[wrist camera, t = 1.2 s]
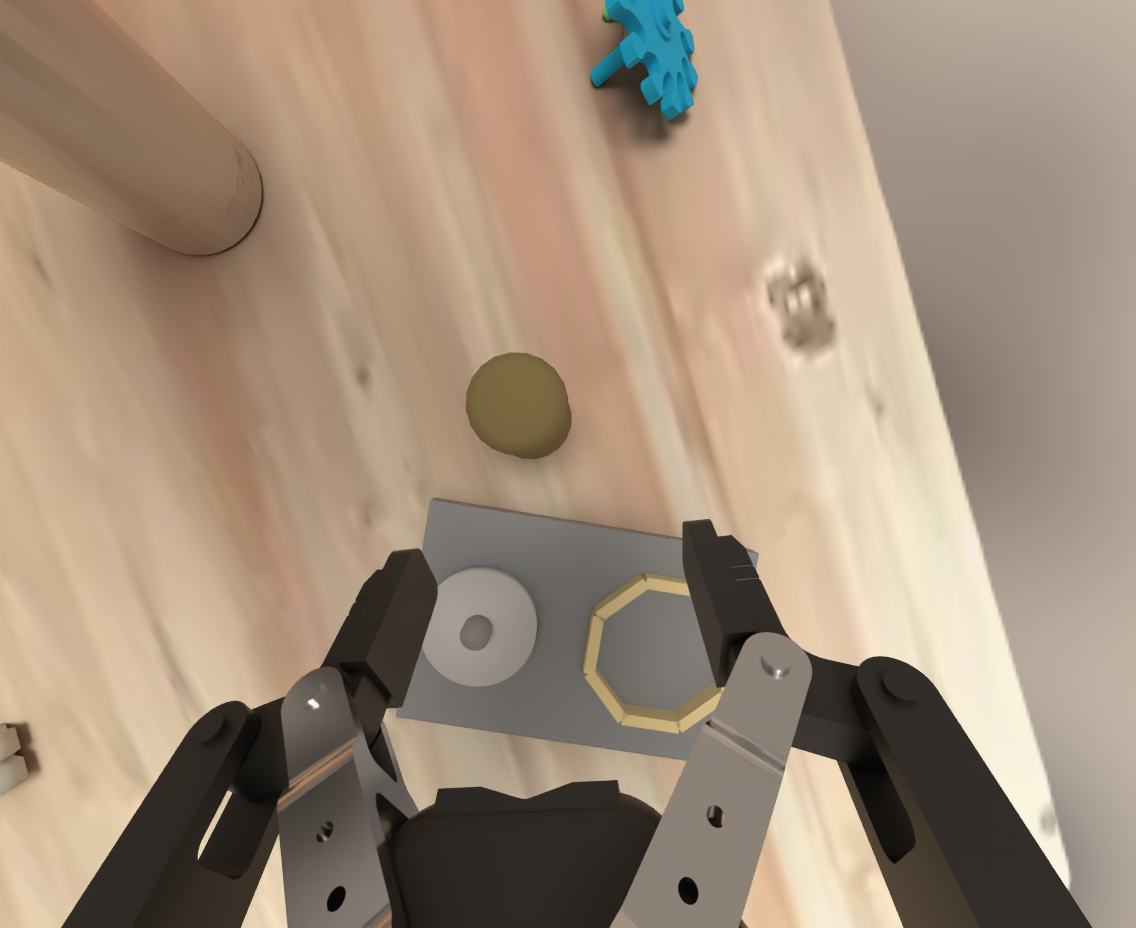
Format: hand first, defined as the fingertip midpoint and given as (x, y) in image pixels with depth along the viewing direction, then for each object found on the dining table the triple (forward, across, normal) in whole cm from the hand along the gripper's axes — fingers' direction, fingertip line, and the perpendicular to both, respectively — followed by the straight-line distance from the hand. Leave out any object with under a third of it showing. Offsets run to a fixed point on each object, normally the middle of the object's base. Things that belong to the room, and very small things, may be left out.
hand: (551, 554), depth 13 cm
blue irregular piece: (+32, -8, -15) cm, 36 cm away
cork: (+18, +3, +5) cm, 19 cm away
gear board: (+10, +2, +18) cm, 21 cm away
